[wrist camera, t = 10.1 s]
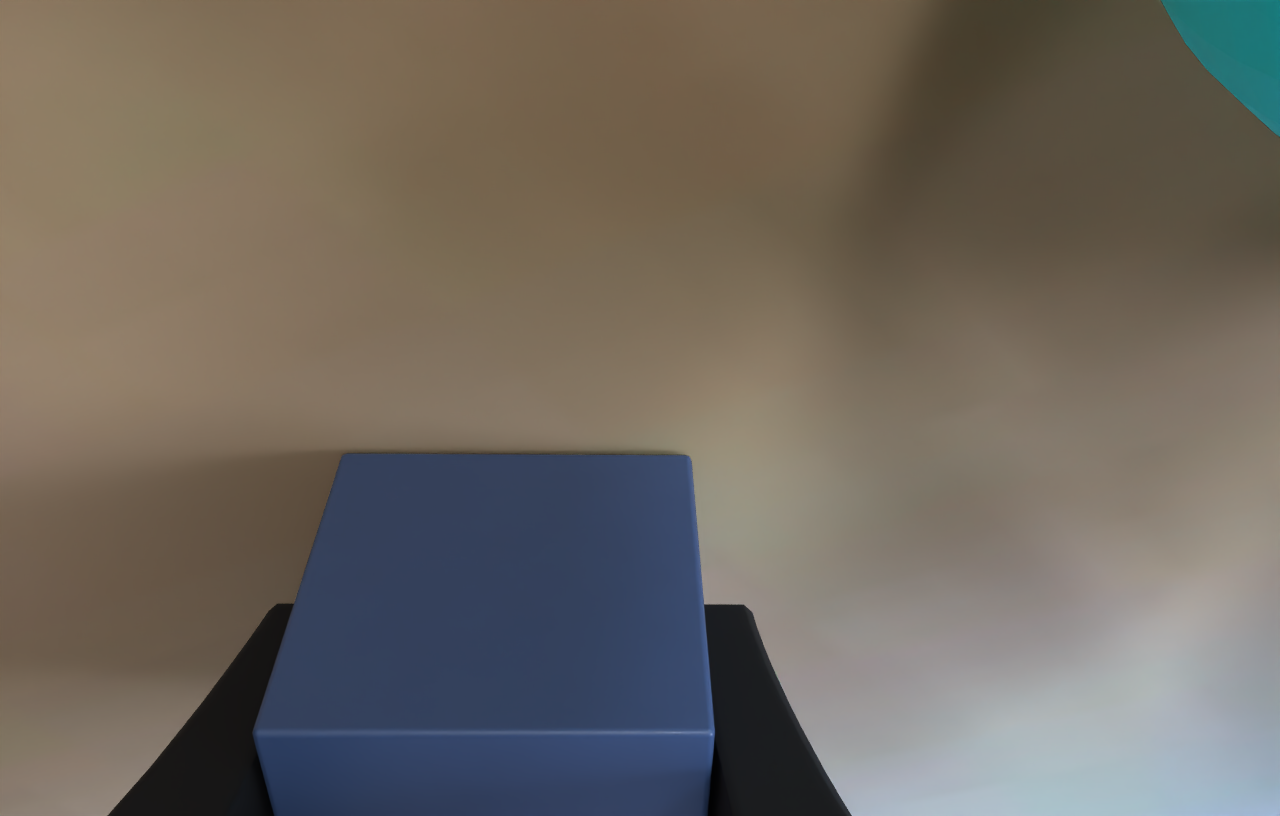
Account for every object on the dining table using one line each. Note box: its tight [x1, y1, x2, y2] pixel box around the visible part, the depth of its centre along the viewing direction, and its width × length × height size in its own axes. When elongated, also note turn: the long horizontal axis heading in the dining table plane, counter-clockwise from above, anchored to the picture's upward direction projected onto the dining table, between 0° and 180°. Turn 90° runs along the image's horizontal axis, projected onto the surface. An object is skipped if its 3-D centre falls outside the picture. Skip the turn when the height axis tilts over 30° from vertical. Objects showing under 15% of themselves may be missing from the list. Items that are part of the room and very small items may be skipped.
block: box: [252, 453, 715, 816], centre depth 13 cm, size 4×4×4 cm
